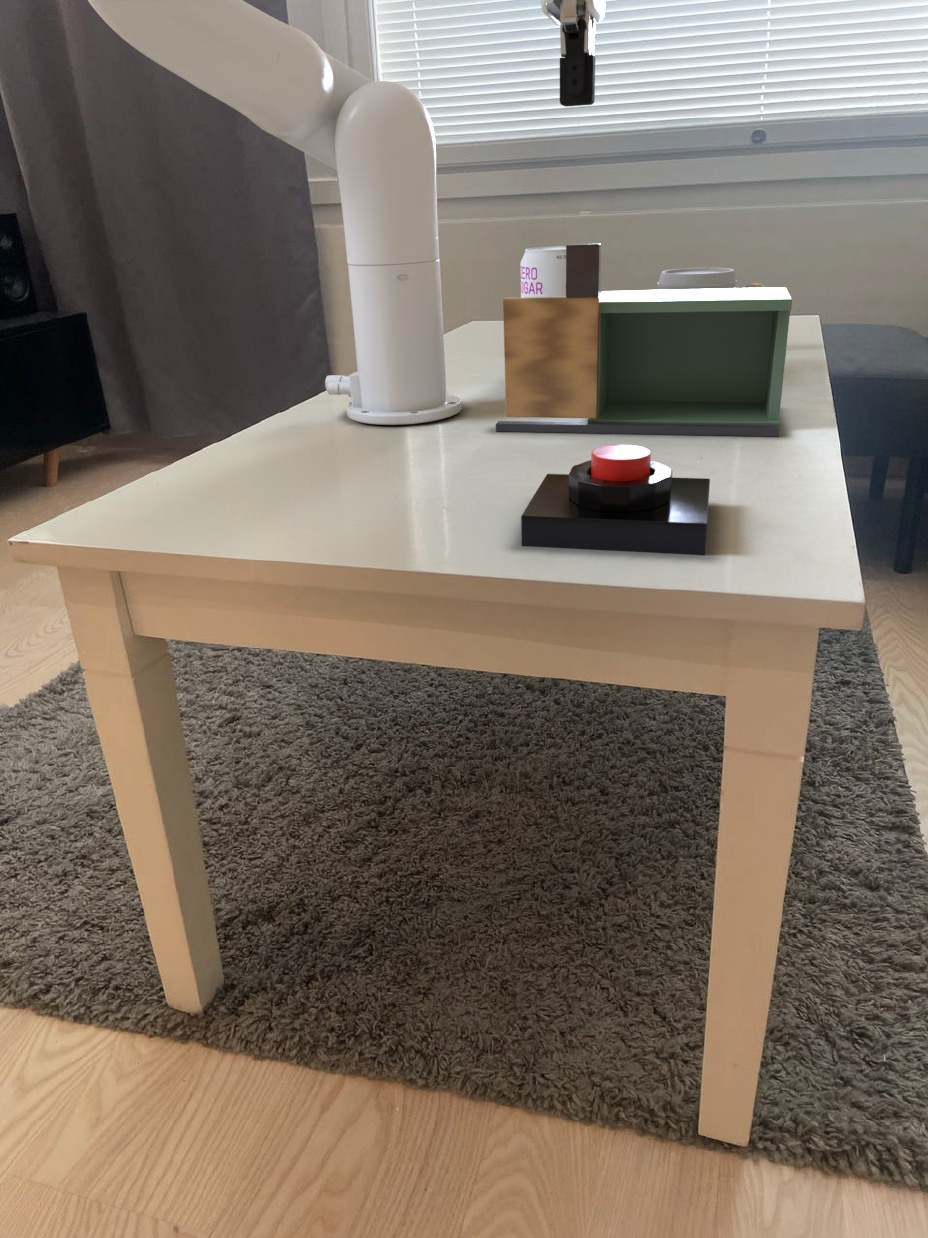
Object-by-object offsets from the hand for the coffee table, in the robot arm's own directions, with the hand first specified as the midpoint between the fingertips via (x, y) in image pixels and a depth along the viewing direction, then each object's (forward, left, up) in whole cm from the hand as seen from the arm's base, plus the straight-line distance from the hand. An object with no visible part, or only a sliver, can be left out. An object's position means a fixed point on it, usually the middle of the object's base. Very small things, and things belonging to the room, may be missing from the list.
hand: (577, 104), depth 89 cm
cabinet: (+7, -8, -29) cm, 31 cm away
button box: (+9, -40, -29) cm, 50 cm away
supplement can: (-6, +20, -29) cm, 36 cm away
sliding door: (-1, -13, -28) cm, 31 cm away
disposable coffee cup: (+12, +19, -29) cm, 37 cm away
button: (+9, -40, -25) cm, 48 cm away
